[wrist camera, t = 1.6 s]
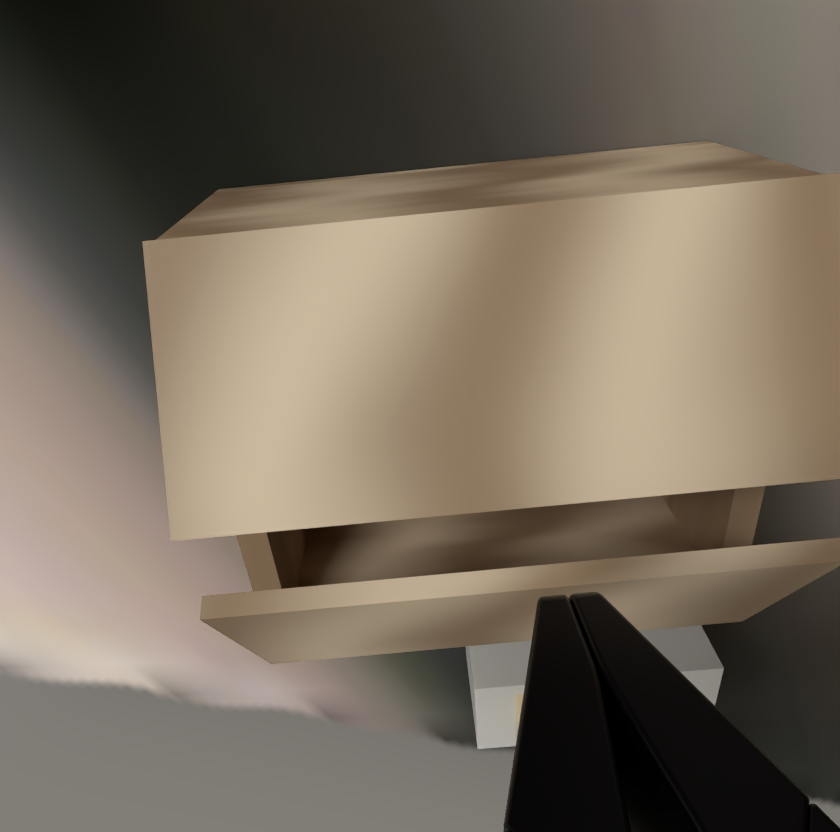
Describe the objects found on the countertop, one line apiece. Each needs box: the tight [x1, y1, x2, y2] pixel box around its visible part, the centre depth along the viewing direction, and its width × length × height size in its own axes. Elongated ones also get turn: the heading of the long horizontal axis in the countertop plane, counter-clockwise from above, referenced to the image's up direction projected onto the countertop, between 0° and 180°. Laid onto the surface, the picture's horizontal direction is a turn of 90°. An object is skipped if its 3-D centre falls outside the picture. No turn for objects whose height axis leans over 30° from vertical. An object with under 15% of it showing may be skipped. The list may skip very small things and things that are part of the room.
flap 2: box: [200, 538, 840, 664], centre depth 16 cm, size 14×6×1 cm, turn 95°
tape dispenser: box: [466, 625, 724, 749], centre depth 25 cm, size 9×4×6 cm, turn 95°
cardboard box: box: [156, 141, 823, 591], centre depth 19 cm, size 14×12×6 cm
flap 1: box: [142, 173, 840, 541], centre depth 13 cm, size 14×6×1 cm, turn 95°
